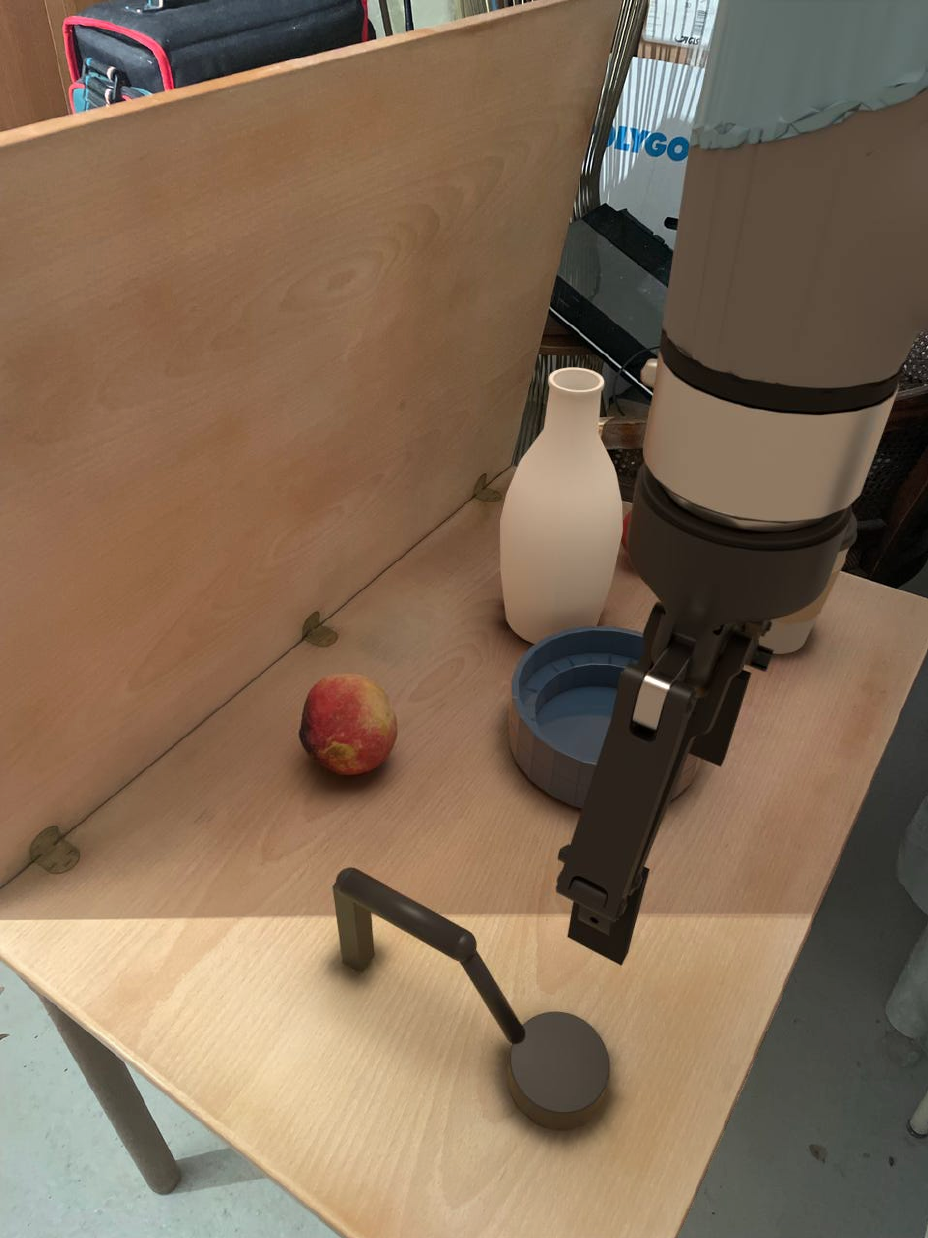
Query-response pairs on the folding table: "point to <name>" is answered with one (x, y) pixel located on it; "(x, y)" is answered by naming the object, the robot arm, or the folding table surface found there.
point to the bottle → (561, 516)
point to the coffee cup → (796, 627)
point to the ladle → (541, 1048)
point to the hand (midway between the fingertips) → (653, 839)
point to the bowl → (571, 707)
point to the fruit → (348, 724)
